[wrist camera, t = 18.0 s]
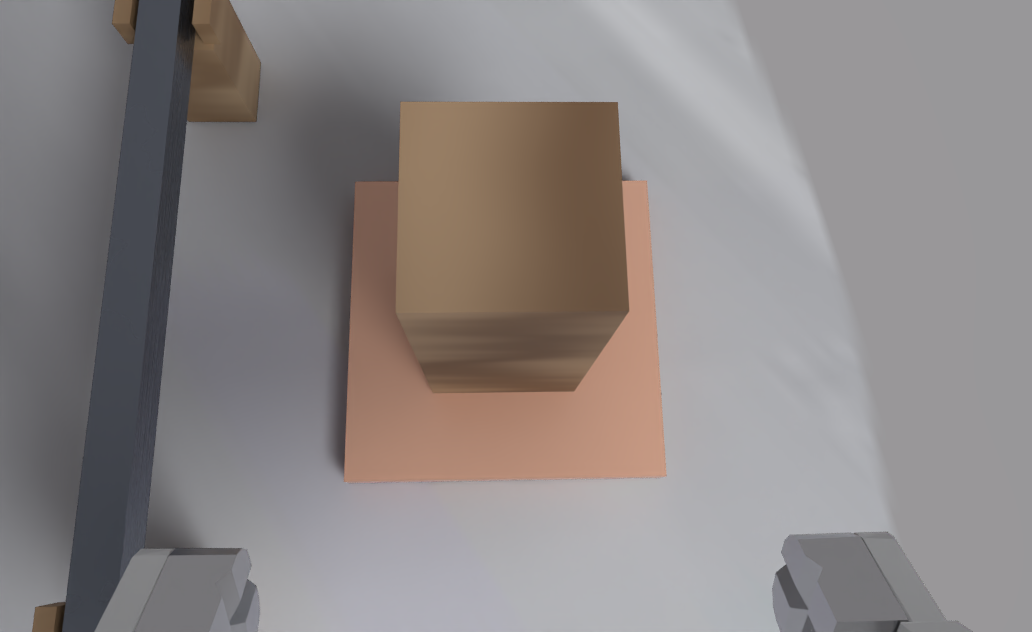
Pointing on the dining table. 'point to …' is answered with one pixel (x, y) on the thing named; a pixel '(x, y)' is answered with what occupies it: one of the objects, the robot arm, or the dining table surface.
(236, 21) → the hurdle posts
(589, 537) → the dining table surface
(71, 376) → the dining table surface
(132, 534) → the metal bar
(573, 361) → the walnut block
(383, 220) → the coaster
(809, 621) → the robot arm
